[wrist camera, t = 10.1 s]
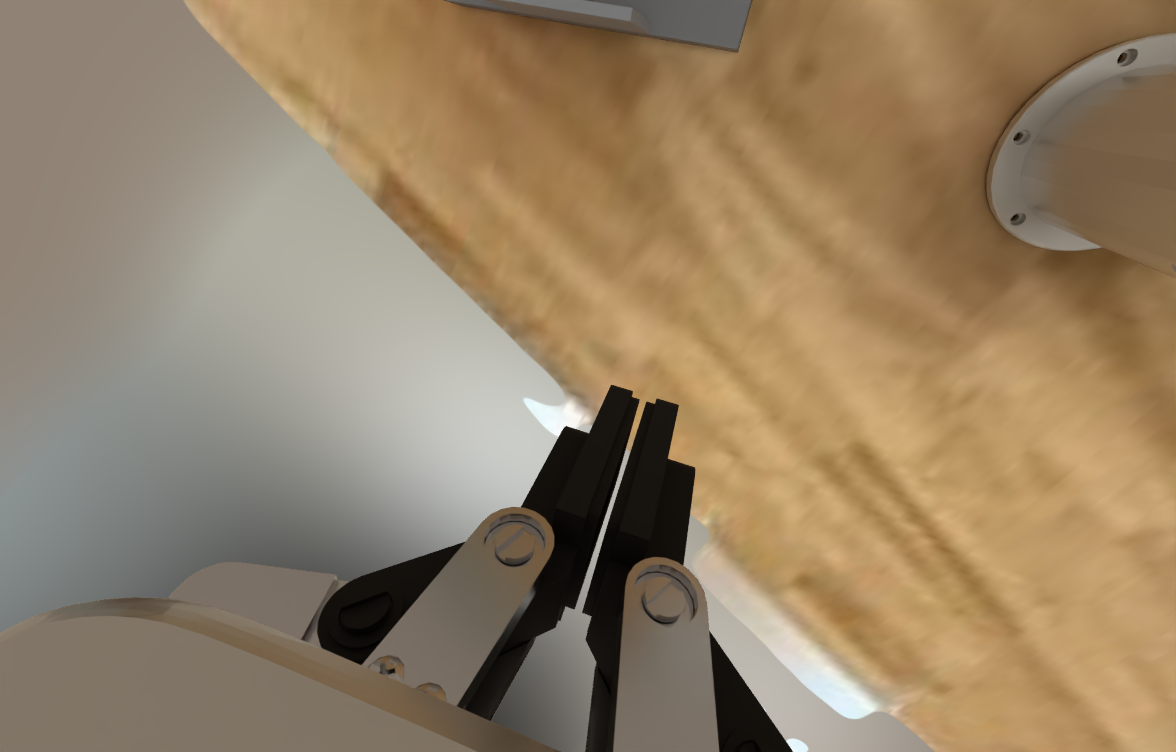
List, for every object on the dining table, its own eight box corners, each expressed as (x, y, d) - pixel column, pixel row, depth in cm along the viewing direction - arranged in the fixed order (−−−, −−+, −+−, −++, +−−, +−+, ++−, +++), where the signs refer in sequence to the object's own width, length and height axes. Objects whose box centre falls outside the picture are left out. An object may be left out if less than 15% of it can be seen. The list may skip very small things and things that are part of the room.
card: (653, 21, 31) (633, 4, 25) (650, 34, 31) (630, 21, 25) (517, -2, 32) (469, -22, 27) (516, 11, 33) (469, -6, 27)
